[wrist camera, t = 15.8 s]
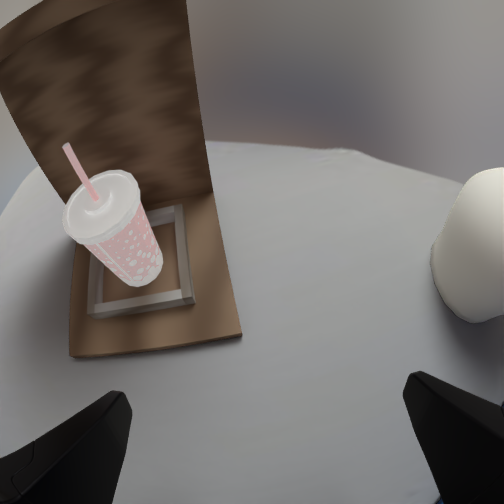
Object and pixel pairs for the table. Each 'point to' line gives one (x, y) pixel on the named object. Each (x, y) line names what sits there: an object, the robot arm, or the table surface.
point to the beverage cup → (113, 224)
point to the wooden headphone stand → (125, 161)
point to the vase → (473, 250)
